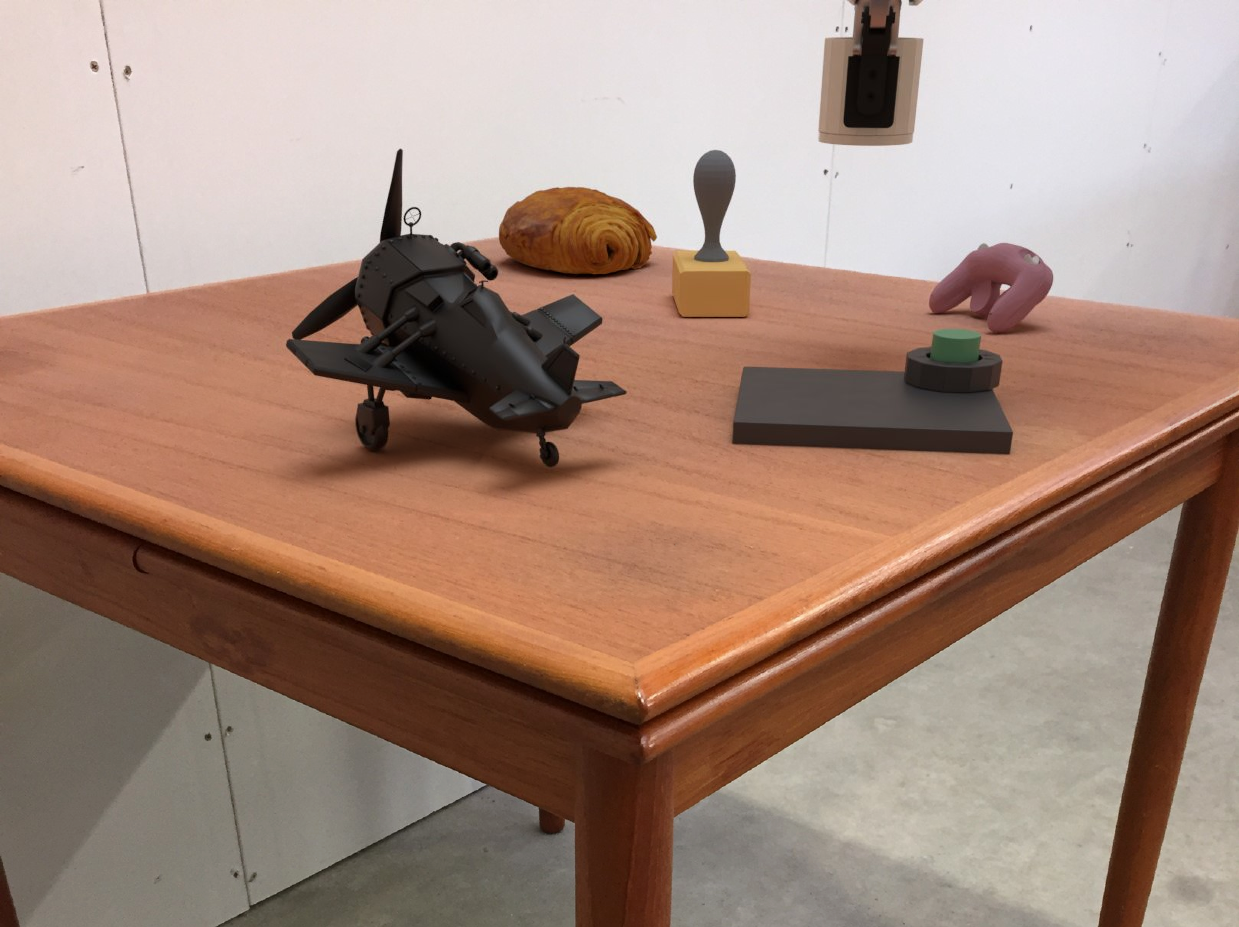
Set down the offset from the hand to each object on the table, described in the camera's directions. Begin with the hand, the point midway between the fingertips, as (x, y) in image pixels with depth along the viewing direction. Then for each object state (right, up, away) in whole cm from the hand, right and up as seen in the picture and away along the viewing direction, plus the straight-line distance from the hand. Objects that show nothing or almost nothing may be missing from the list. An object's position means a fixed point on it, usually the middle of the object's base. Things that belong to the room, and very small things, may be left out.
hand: (867, 120), depth 89 cm
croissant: (-20, +8, +43) cm, 48 cm away
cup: (0, -1, +1) cm, 1 cm away
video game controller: (+14, -6, +21) cm, 25 cm away
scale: (-1, -22, -5) cm, 22 cm away
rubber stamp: (-9, -3, +25) cm, 27 cm away
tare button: (+5, -17, -4) cm, 18 cm away
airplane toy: (-25, -25, -11) cm, 37 cm away
